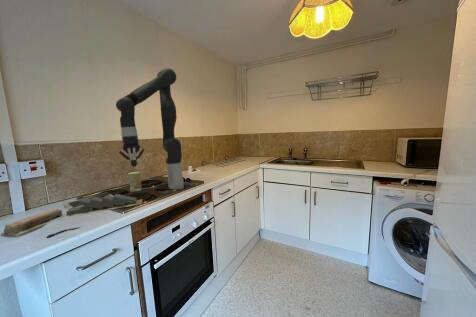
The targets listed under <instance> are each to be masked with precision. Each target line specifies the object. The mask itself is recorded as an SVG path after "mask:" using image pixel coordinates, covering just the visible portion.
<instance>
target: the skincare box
mask: <svg viewBox="0 0 476 317" xmlns="http://www.w3.org/2000/svg"><path fill="white" fill-rule="evenodd" d="M127 174H128V182H129V183H128V184H129V191H130V192H129V193H132V192H141V191H142V189H143V188H142V180H141V178H142V177H141V171H134V172H129V173H127Z"/></svg>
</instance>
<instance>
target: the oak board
mask: <svg viewBox="0 0 476 317" xmlns="http://www.w3.org/2000/svg"><path fill="white" fill-rule="evenodd" d="M142 203H143V199H141V198H140V199H136V201H135V204H130V203H126V204H125V206H122V205H117V204H115V205H114V207H113V208H111V207H106V206H104V208H103V209H97V208H95V209H94V210H93V211H91V212H85V213H79V214H74V215H68V217H74V216H80V215H85V214H90V213H91V214H92V213H96V212H103V211H108V210H114V209H119V208H120V209H121V208H127V207H131V206H137V205H142Z"/></svg>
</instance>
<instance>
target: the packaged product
mask: <svg viewBox="0 0 476 317" xmlns="http://www.w3.org/2000/svg"><path fill="white" fill-rule="evenodd" d="M64 217H67V213H66V214H63V211H62V209H59V208H56V209H55V208H54V209H51V210H47V211H44V212H41V213H38V214H36V215H32V216H29V217H26V218H23V219H20V220H17V221H14V222H12V223H11V222H10V223H9V224H5V225H4V229H3V232H1V233H0V235H1V236H3V235H4V236H3V237H13V238H19V237H22V236H25V235H27V234H30V233H32V232H35V231H38V230H40V229H42V228H44V227H45V226H46V225H48V224H49V223H51V222H54V221H57V220H59V219H62V218H64Z"/></svg>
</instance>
